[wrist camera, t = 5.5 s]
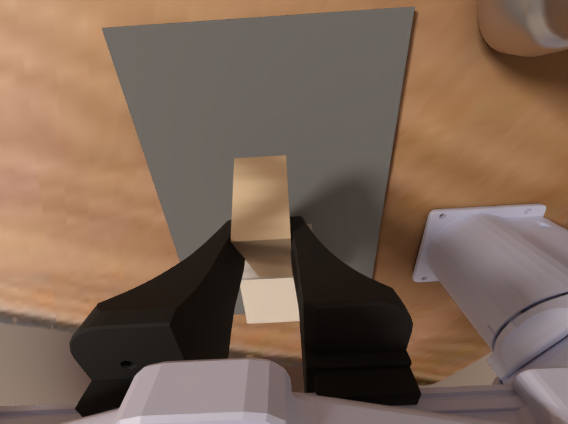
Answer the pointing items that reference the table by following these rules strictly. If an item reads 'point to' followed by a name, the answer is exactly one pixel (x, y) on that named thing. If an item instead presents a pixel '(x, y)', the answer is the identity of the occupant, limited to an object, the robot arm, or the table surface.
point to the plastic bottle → (524, 26)
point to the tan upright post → (262, 217)
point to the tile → (270, 300)
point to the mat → (269, 117)
